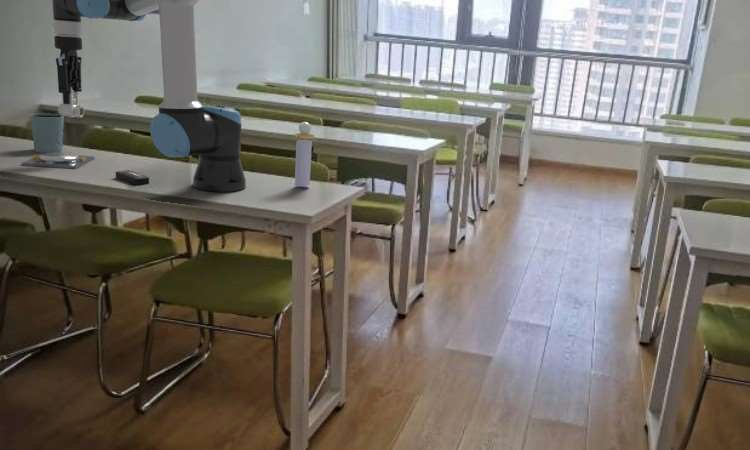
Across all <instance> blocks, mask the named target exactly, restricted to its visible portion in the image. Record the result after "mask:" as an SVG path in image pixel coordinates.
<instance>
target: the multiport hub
mask: <svg viewBox="0 0 750 450" xmlns="http://www.w3.org/2000/svg"><path fill="white" fill-rule="evenodd" d="M115 179H116V180H120V181H123V182H124V183H128V184H130V185H133V186H142V185H143V186H145V185H148V184H149V185H150V176H146V175H144V174H141V173H137V172H134V171H131V170H129V169H128V170H127V169H126V170H120V171H115Z"/></svg>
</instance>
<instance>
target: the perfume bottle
mask: <svg viewBox="0 0 750 450" xmlns="http://www.w3.org/2000/svg"><path fill="white" fill-rule="evenodd" d="M311 130H312V126H311V124H310V123H309V122H308V121H302V122H300V124H299V125H298V131H299V132H298V133H297V132H296V133H295V134H294V137H295V138H299V139H300V140H299V139H298V140H296V147H295V148H296V149H295V166H294V167H295V168H294V169H295V170H294V186H296V187H300V188H306V187H310V184H311V182H310V181H311V166H312V165H311V164H312V154H314V144H313V142H312V141H311V140H308V139H314V138H315V134H312V133H310V132H311ZM301 139H302V140H301ZM304 139H307V140H304ZM307 185H309V186H307Z"/></svg>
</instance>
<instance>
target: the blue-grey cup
mask: <svg viewBox="0 0 750 450" xmlns="http://www.w3.org/2000/svg"><path fill="white" fill-rule="evenodd" d="M29 118H30V126H31V127H30V128H31V129H32V131H31V133H32V139H33V149H34V152H36V153H41V154H43V153H56V152H62V151H63V140H64V132H63V130H64V124H65V123H64V122H65V120H64V119H65V116H61V115H60V114H59V113H46V112H44V113H43V112H42V113H39V112H38V113H32V114H30V115H29Z"/></svg>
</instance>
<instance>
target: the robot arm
mask: <svg viewBox="0 0 750 450" xmlns="http://www.w3.org/2000/svg"><path fill="white" fill-rule="evenodd" d="M199 1H200V0H52V14H53V17H52V18H53V23H52V26H53V33H54V34H56V35H54V38H53V39H54V48H55V49H59V50H60V53H59V58H58V57H56V58H55V62H56V68H57V82H58V83H57V84H58V85H57V86H58V93H60V94H62V104H63V114H64V115H73V97H74V99H76V102H75V105H80V99H79V97H80V96H79V92H80V93H81V92H82V90H83V89H82V82H81V83H79V82H78V83H77V85H76V86H74V87H72V90H74V95H72V93H71V78H81V79H82V57H81V56H78V51H81V50H82V49H83V38H82V37H81V36H82V35H83V33H82V32H83V31H82V30H83V29H82V18H87V19H90V20H91V19H97V20H98V19H101V20H102V19H105V20H118V21H128V22H136V21H137V22H140V21H143V20H144V19H145V17H146V15H147V14H149V13H152V12H154V11H158V12H159V13H158V14H159V15H158V16H159V30H160V46H161V47H160V49H161V65H162V66H161V67H162V69H161V70H162V79H163V80H162V83H163V85H162V86H163V101H162V102H161V103H159V105H158V114H156V115H155V116H153V117H152V119H151V120H152V121H151V122H150V128H149V132H150V137H151V140H152V143H153V144H154V146H155V147H156V148H157V149H158V151H159V152H160V154H163V155H164V156H166V157H169V158H185V157H190V156H197V155H199V157H198V163H197V166H196V169H195V172H194V174H193V176H192V185H193V187H194V188H195V189H198V190H201V191H205V192H215V193H223V192H224V193H226V192H227V193H228V192H237V191H238V192H239V191H240V190H244V189H246V187H247V185H246V184H247V182H246V181H247V180H246V176H245V172H244V170H243V166H242V165H243V164H242V163H241V148H242V147H241V144H242V125H243V124H242V116H241V113H240V112H239V111H238V110H236V109H231V108H225V107H219V106H211V105H203V104H202V103H201V102H200V101H199V99H198V81H197V80H198V79H197V78H198V77H197V61H196V59H197V58H196V37H195V36H196V34H195V33H196V32H195V15H194V14H195V11H194V9H195V8H194V7H195V5H197V4H198V2H199ZM74 84H75V83H74Z"/></svg>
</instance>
